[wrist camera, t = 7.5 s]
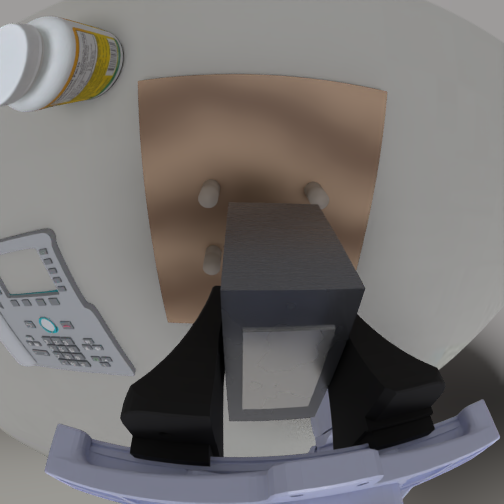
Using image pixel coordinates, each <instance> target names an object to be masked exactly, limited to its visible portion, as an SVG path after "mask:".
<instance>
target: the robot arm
mask: <svg viewBox="0 0 504 504" xmlns="http://www.w3.org/2000/svg"><path fill="white" fill-rule="evenodd" d="M220 289H221V286H214V287H212V290H211V293H210V295H209V297H208V300H207V302H206V304H205V305H204V307H203V309H202V311H201V312H200V314H199V316H198V318H197V319H196V321H195V322H194V324H193V325H192V327H191V328H190V330H189V331H188V332H187V334H186V335H185V336H184V338H183V339H182V340H181V341H180V343H179V344H178V345H177V346H176V347H175V348H174V349H173V350H172V352H171V353H170V354H169V355H168V356H167V357H166V358H165V359H164V360H163V361H161V362H160V363H159V364H158V365H157V366H156V367H155V368H154V369H152V370H151V371H150V372H149V373H148V374H146V375H145V376H144V377H142V378H141V379H139V380H138V381H137V382H135V383H134V384H132V385H131V386H130V388H129V390H128V393H127V395H126V397H125V400H124V403H123V408H122V412H121V417H120V419H121V421H122V423H123V424H124V425H125V427H126V428H127V429H128V430H129V432H130V433H131V434H132V435H133V437H132V443H131V447H125V446H120V445H116V444H111V443H107V442H102V441H98V440H94V439H91V437H90V436H89V435H88V434H87V433H86V432H84V431H82V430H79V429H76V428H73V427H69V426H66V425H63V424H58V425H57V428H56V431H55V434H54V438H53V441H52V444H51V448H50V451H49V455H48V459H47V463H46V467H45V473H47V474H48V475H50V476H52V477H54V478H55V479H57V480H59V481H61V482H63V483H64V484H66V485H68V486H70V487H72V488H74V489H77V490H80V491H83V492H86V493H88V494H92V495H95V496H98V497H102V498H105V499H108V500H111V501H115V502H118V503H122V504H403V500H402V499H403V498H404V497H405V496H406V494H407V493H408V492H409V491H410V490H411V488H412V487H413V486H416V485H418V484H421V483H423V482H425V481H428V480H430V479H432V478H434V477H436V476H439V475H441V474H443V473H445V472H447V471H449V470H451V469H453V468H455V467H457V466H459V465H461V464H463V463H465V462H467V461H469V460H470V459H472V458H474V457H475V456H476V455H478V454H479V453H481V452H482V451H484V450H485V449H486V448H488V447H489V446H490V445H492V444H493V443H494V442H496V441H497V440H498V439H499V438H500V436H499V433H498V431H497V429H496V426H495V424H494V422H493V419H492V417H491V415H490V413H489V411H488V408H487V406H486V404H485V402H484V400H480V401H478V402H476V403H473V404H471V405H469V406H467V407H466V408H464V409H463V410H462V411H461V412H460V413H459V414H458V416H455V417H453V418H450V419H447V420H445V421H442V422H439V423H437V424H433V422H432V420H431V417H430V415H432V413H433V411H432V409H431V406H432V404H433V403H434V402H435V401H436V400H437V399H438V398H439V397H440V395H441V394H442V393H443V391H444V389H445V382H444V380H443V378H442V376H441V374H440V372H439V370H438V368H436V367H434V366H432V365H429V364H427V363H425V362H423V361H420V360H418V359H416V358H415V357H413V356H411V355H409V354H407V353H406V352H404V351H402V350H401V349H399V348H398V347H396V346H395V345H393V344H392V343H390V342H389V341H387V340H386V339H385V338H383V337H382V336H381V335H380V334H378V333H377V332H376V331H375V330H374V329H372V328H371V327H370V326H369V325H368V324H367V323H366V322H365V321H364V320H363V319H362V318H360V317H359V316H358V315H356V317H355V320H354V323H353V326H352V329H351V331H350V334H349V337H348V340H347V342H346V345H345V347H344V350H343V353H342V355H341V358H340V360H339V363H338V365H337V368H336V370H335V372H334V375H333V377H332V379H331V382H330V384H329V386H328V389H327V391H326V393H325V395H324V398H323V400H322V402H321V404H320V406H319V408H318V411H317V413H316V415H315V417H311V418H310V419H311V425H312V430H313V434H314V436H315V440H316V446H312V447H311V448H310V451H309V452H308V453H306V454H296V455H285V456H269V457H223V386H224V374H225V360H224V345H223V329H222V311H221V291H220Z"/></svg>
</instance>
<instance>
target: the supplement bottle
mask: <svg viewBox="0 0 504 504" xmlns="http://www.w3.org/2000/svg"><path fill="white" fill-rule="evenodd" d="M122 62H123V51H122V47H121V44H120V42H119V41H118V39H117V38H116V37H115V36H114V35H113V34H111V33H110V32H107V31H105V30H102V29H98V28H95V27H92V26H89V25H86V24H82V23H78V22H75V21H71V20H68V19H64V18H60V17H55V16H45V17H40V18H37V19H34V20H32V21H30V22H29V23H27V24H16V23H12V24H7V25H5V26H2V27H1V28H0V106H4V105H8V106H10V107H11V108H13V109H15V110H17V111H21V112H31V111H36V110H41V109H44V108H49V107H53V106H57V105H62V104H67V103H73V102H78V101H83V100H89V99H93V98H96V97H98V96H100V95H101V94H103V93H104V92H106V91H107V90H108V89H109V88H110V87H111V86H112V84H113V83H114V82H115V80H116V79H117V77H118V75H119V73H120V70H121V67H122Z"/></svg>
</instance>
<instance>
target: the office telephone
mask: <svg viewBox="0 0 504 504" xmlns="http://www.w3.org/2000/svg"><path fill="white" fill-rule="evenodd" d="M30 248H35V249H36V250H37V252H38V254H39V256H40V258H41V260H42V262H43V264H44V266H45V268H46V270H47V271H48V273H49V275H50V277H51V279H52V281H53V282H54V284H55V286H56V288H57V290H55V291H47V292H37V293H26V294H12V295H11V294H10V293H9V292H8V290H7V288H6V286H5V285H4V283H3V281H2V279H1V278H0V341H1V342H2V344H3V345H4V346H5V347H6V349H7V350H8V351H9V352H10V354H11V355H12V356H13V358H14V359H15V360H16V361H17V362H18V363H19V364H20V365H22V366H33V365H36V366H42V367H49V368H56V369H64V370H72V371H81V372H92V373H103V374H110V375H124V376H134V375H135V368H134V366H133V364H132V363H131V361H130V360H129V359H128V357H127V356H126V354H125V353H124V351H123V350H122V348H121V347H120V345H119V343H118V342H117V340H116V339H115V337H114V336H113V334H112V332H111V331H110V329H109V328H108V326H107V324H106V323H105V321H104V319H103V318H102V316H101V314H100V313H99V311H98V310H97V308H96V307H95V306H94V305H93V304H91V303H88V302H87V301H86V300H85V298H84V297H83V295H82V293H81V292H80V290H79V288H78V286H77V284H76V282H75V281H74V279H73V277H72V275H71V273H70V271H69V269H68V267H67V265H66V263H65V261H64V259H63V256H62V254H61V252H60V250H59V248H58V245H57V242H56V235H55V233H54V231H53V230H51V229H41V230H37V231H33V232H28V233H24V234H20V235H16V236H12V237H9V238H5V239H2V240H0V255H1V254H5V253H9V252H13V251H17V250H22V249H30Z"/></svg>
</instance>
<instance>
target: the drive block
mask: <svg viewBox="0 0 504 504" xmlns="http://www.w3.org/2000/svg"><path fill="white" fill-rule="evenodd" d="M364 290H365V287H364V285H363V283H362V281H361V279H360V277H359V276H358V274H357V272H356V270H355V268H354V266H353V264H352V263H351V261H350V259H349V257H348V255H347V253H346V252H345V250H344V248H343V246H342V244H341V243H340V241H339V239H338V237H337V236H336V234H335V232H334V230H333V229H332V227H331V225H330V224H329V222H328V220H327V219H326V217H325V215H324V213H323V212H322V210H321V209H320V207H319V205H318V204H292V203H241V202H229V203H228V213H227V223H226V233H225V244H224V255H223V266H222V277H221V289H220V291H221V311H222V329H223V345H224V360H225V374H226V387H227V400H228V412H229V421H269V420H288V419H301V418H311V417H315V415H316V413H317V411H318V408H319V406H320V404H321V402H322V400H323V398H324V395H325V393H326V391H327V389H328V386H329V384H330V382H331V379H332V377H333V375H334V372H335V370H336V368H337V365H338V363H339V360H340V358H341V355H342V353H343V350H344V347H345V345H346V342H347V340H348V337H349V334H350V331H351V329H352V326H353V323H354V320H355V317H356V315H357V312H358V309H359V306H360V303H361V300H362V297H363V294H364Z"/></svg>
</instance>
